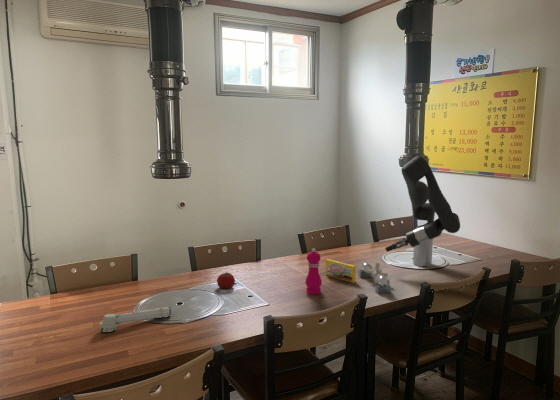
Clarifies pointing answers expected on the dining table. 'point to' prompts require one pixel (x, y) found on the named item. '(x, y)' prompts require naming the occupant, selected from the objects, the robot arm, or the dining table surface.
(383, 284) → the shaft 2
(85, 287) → the dining table surface
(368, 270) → the pipe connector
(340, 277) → the candy box
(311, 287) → the pepper mill
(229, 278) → the tomato
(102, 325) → the toothbrush head
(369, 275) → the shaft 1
